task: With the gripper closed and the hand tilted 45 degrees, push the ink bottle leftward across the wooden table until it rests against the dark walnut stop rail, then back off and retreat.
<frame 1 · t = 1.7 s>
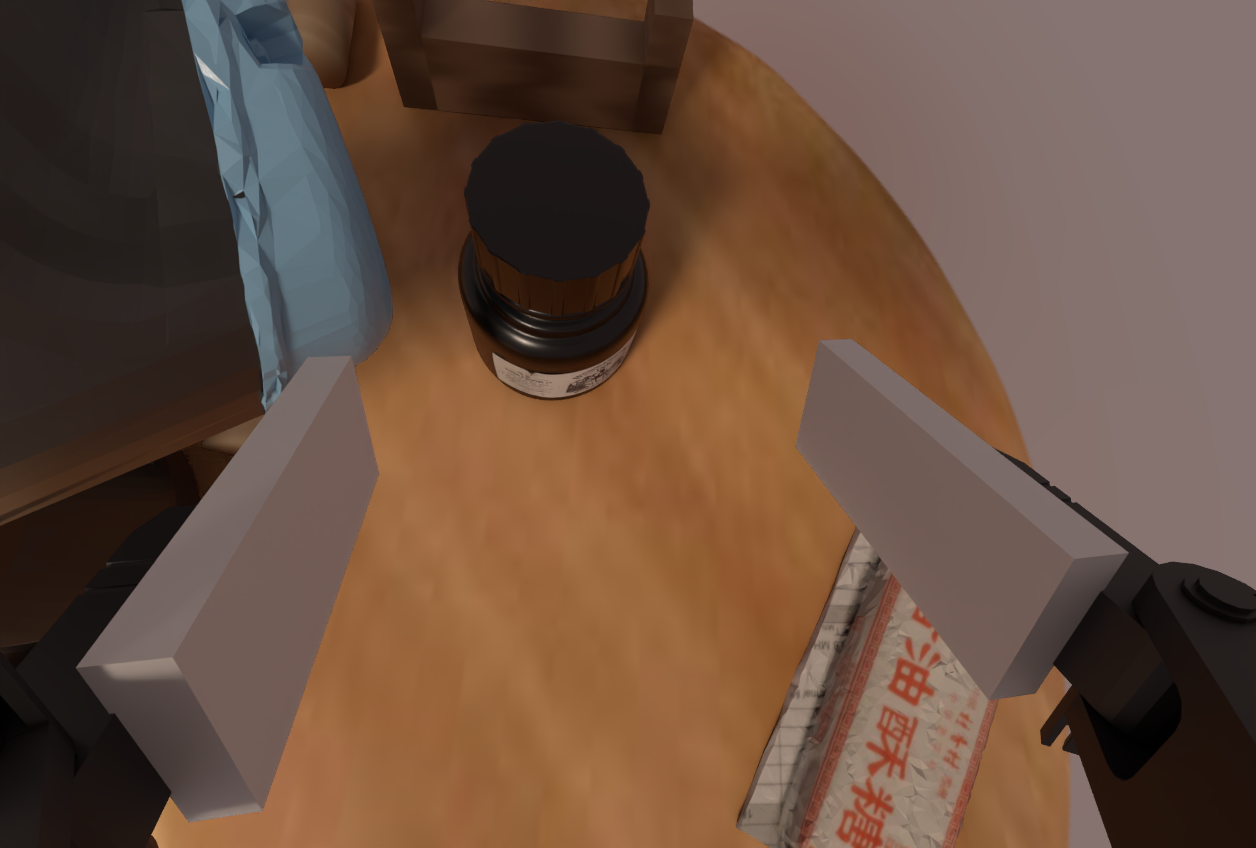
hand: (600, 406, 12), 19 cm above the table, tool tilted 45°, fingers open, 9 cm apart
packaged product: (877, 692, 31), on the table
roller b: (333, 42, 35), on the table, tilted 6°
roller a: (280, 391, 29), on the table, tilted 6°
stop rail: (537, 100, 36), on the table
ink bottle: (553, 330, 33), on the table
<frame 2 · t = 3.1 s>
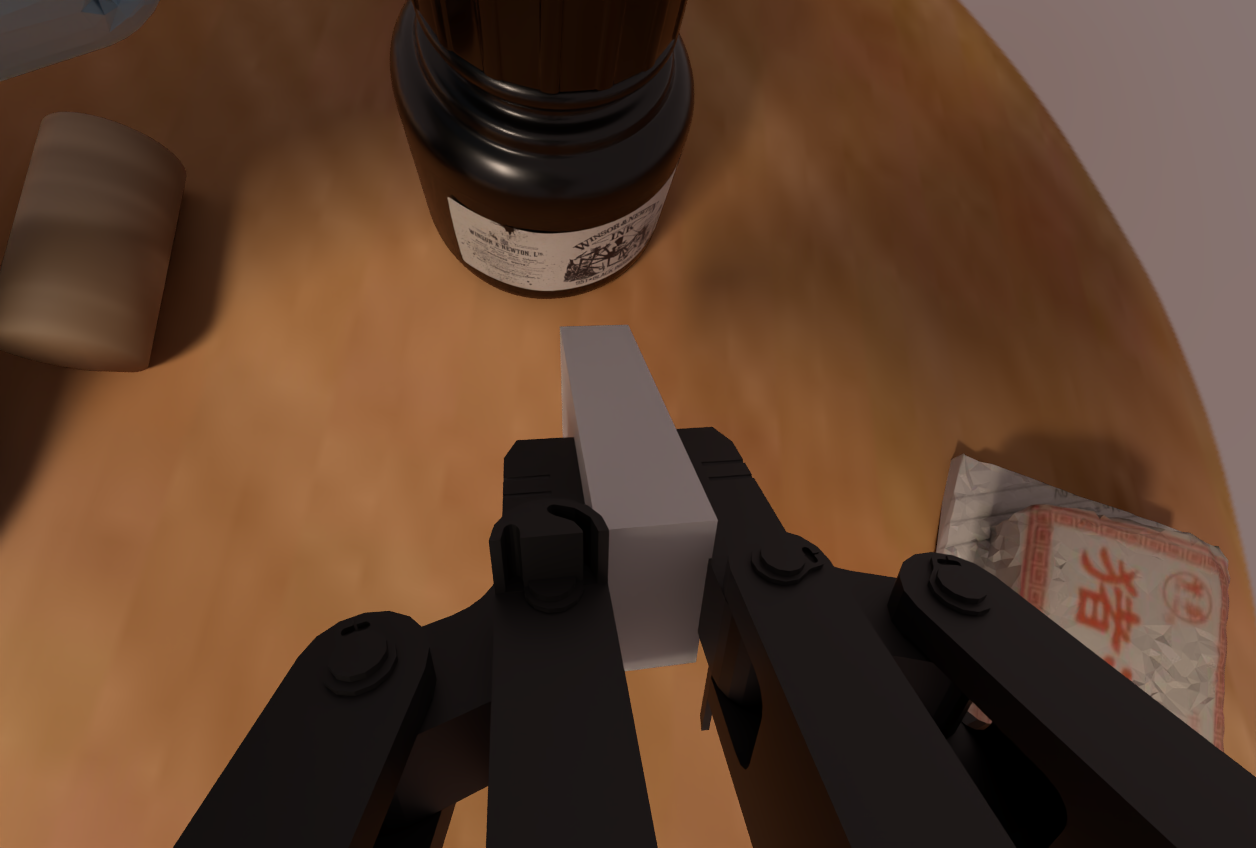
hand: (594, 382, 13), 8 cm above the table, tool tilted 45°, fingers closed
packaged product: (1015, 721, 21), on the table
roller a: (134, 276, 20), on the table
ink bottle: (545, 205, 23), on the table
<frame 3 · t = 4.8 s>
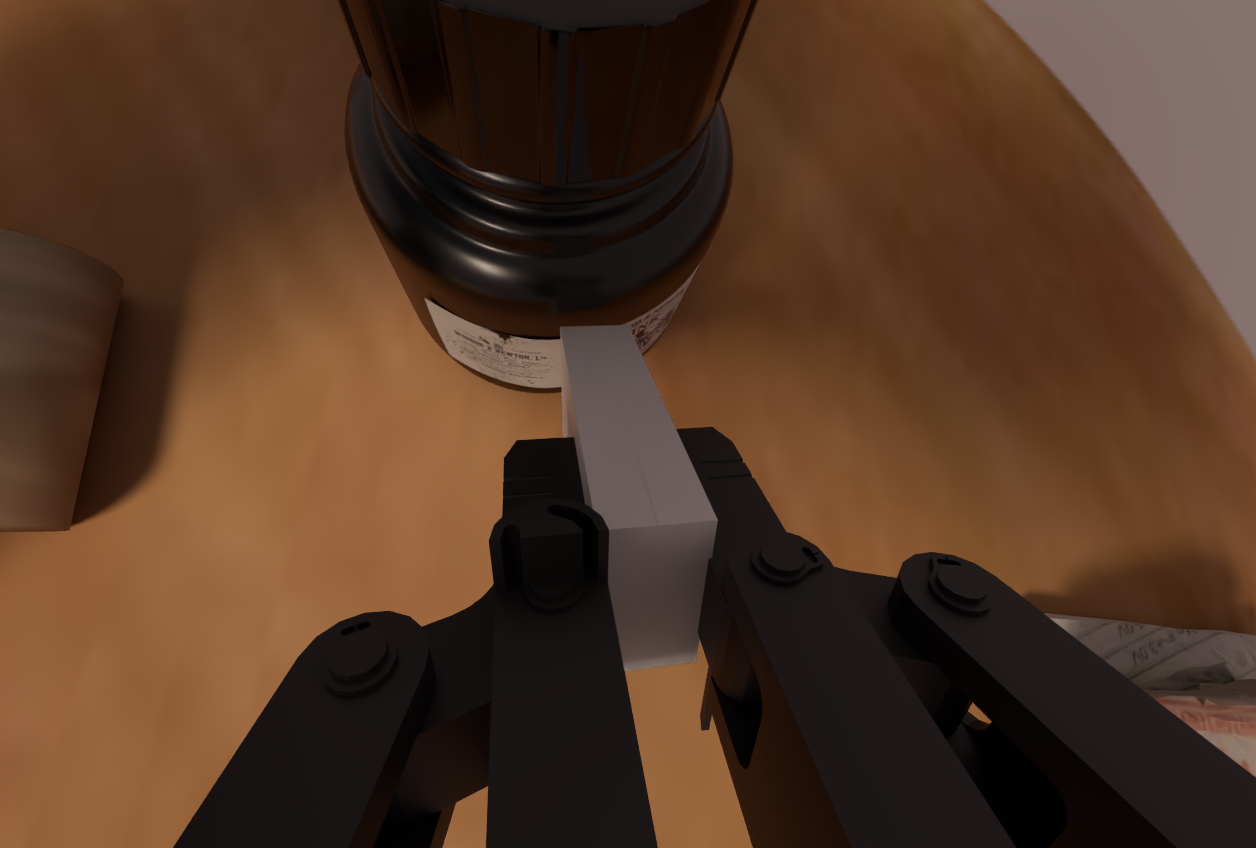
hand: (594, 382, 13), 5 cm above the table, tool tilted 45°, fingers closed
roller a: (42, 405, 16), on the table, tilted 13°
ink bottle: (546, 275, 19), on the table, touching gripper
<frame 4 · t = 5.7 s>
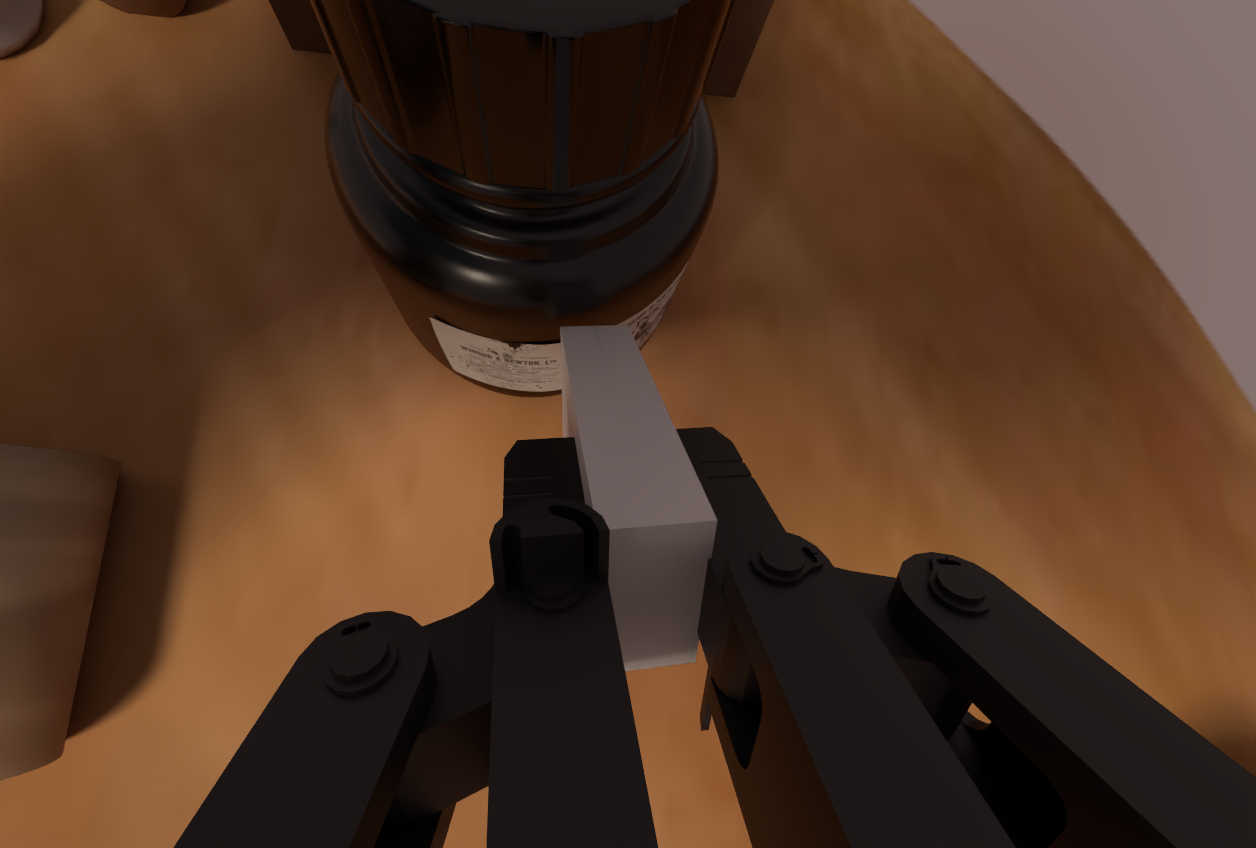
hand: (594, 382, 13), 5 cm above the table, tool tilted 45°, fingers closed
roller a: (9, 601, 15), on the table, tilted 27°
stop rail: (526, 41, 21), on the table
ink bottle: (535, 277, 19), on the table, touching gripper
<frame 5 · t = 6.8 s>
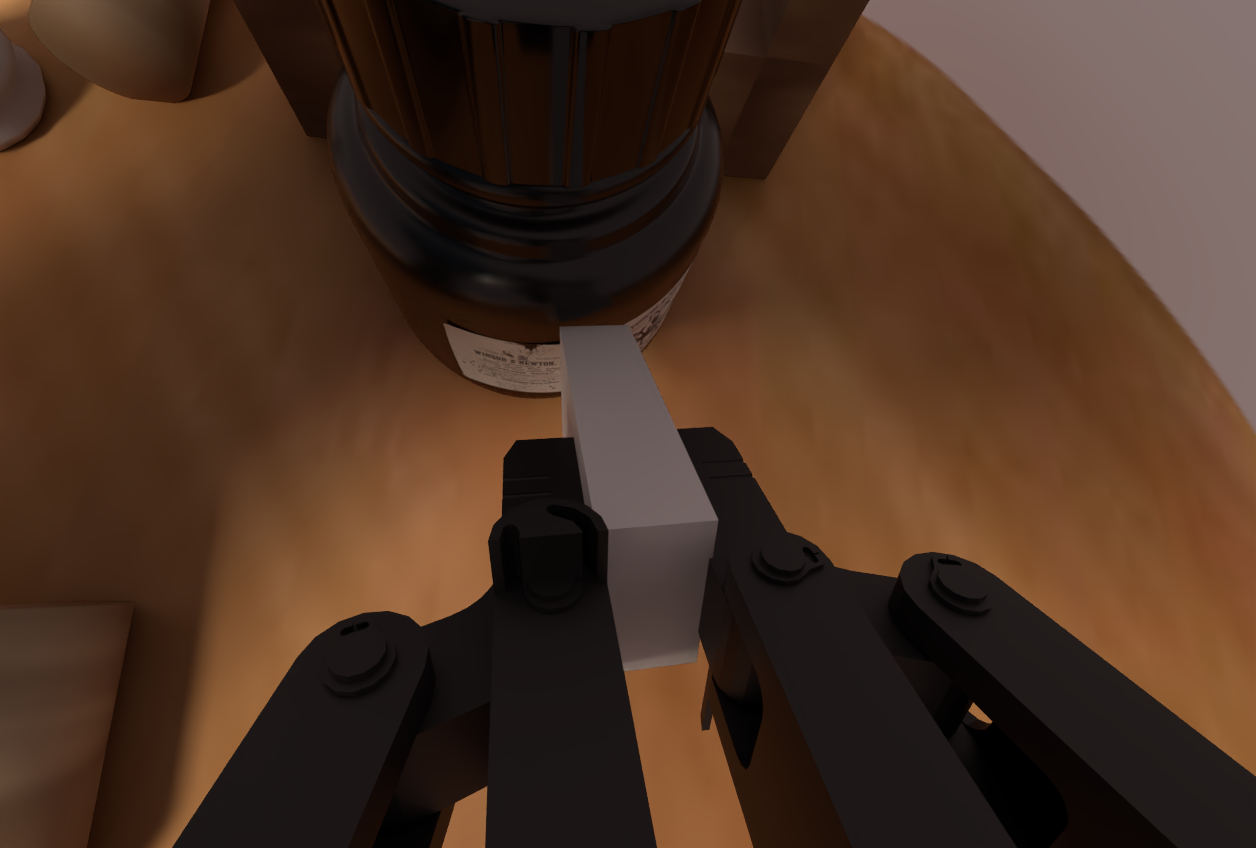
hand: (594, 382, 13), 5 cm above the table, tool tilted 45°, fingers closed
roller b: (181, 18, 19), on the table, tilted 6°
roller a: (1, 755, 14), on the table, tilted 35°
stop rail: (550, 122, 20), on the table
ink bottle: (537, 278, 19), on the table, touching gripper
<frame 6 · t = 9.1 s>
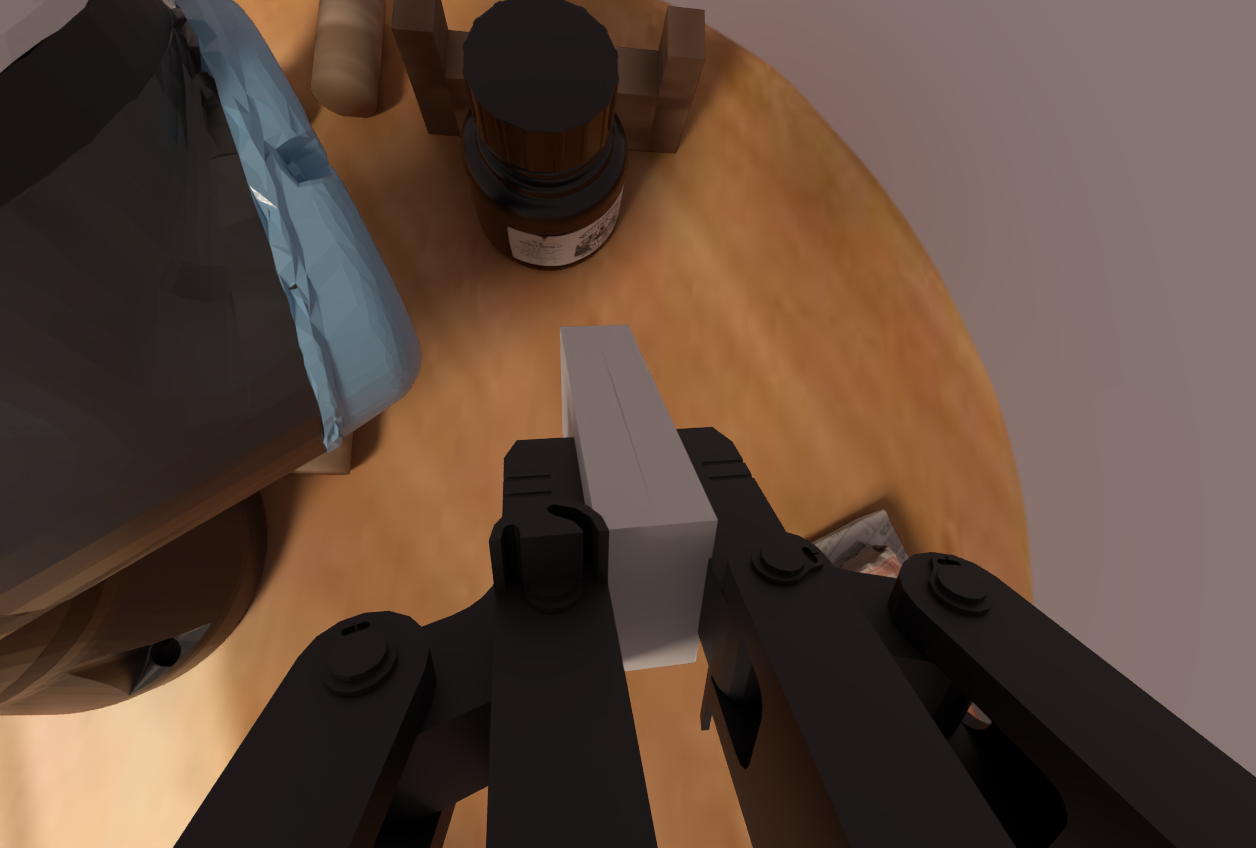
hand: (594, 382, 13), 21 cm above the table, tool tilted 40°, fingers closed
packaged product: (869, 676, 35), on the table
roller b: (359, 69, 36), on the table
roller a: (328, 414, 33), on the table, tilted 6°
stop rail: (555, 123, 37), on the table
ink bottle: (548, 210, 36), on the table
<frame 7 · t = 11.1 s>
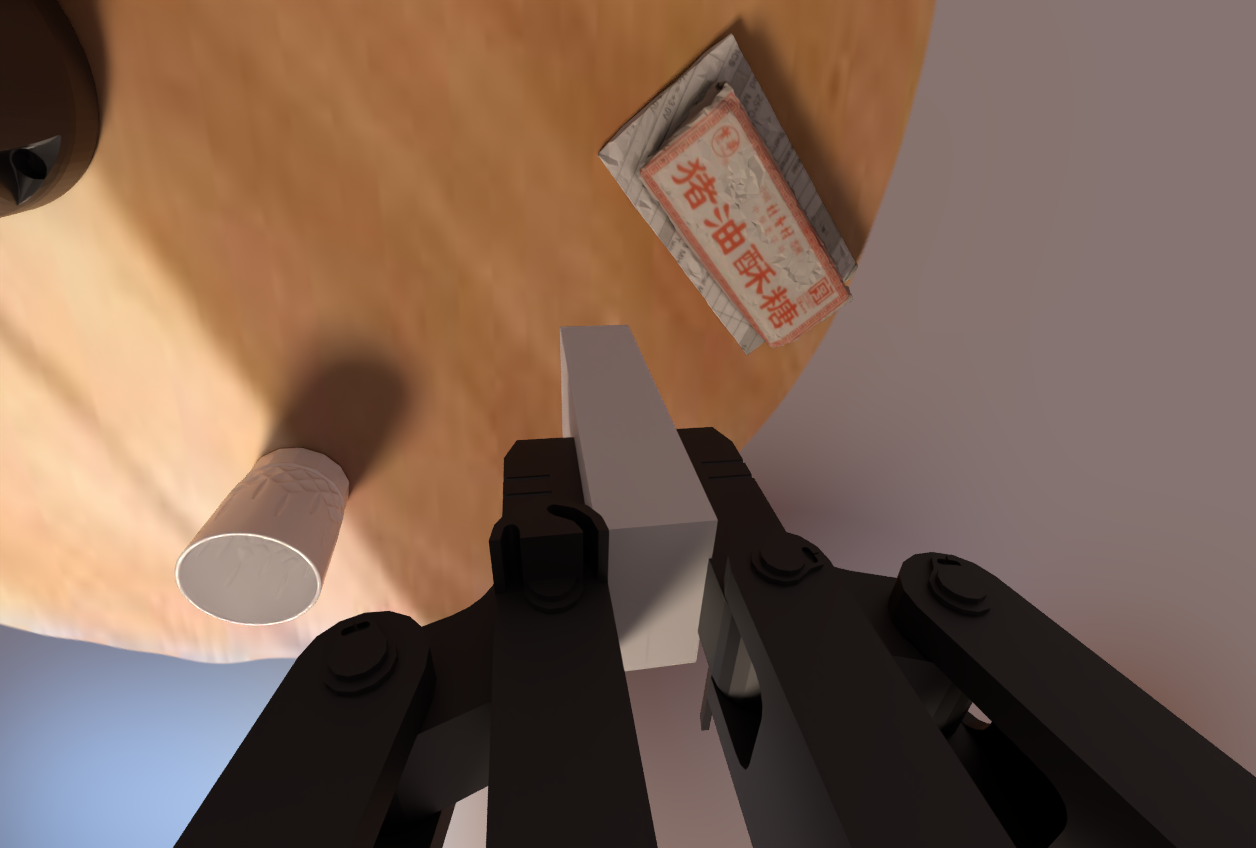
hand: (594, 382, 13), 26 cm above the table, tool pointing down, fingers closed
white cup: (303, 481, 43), on the table
packaged product: (732, 213, 39), on the table
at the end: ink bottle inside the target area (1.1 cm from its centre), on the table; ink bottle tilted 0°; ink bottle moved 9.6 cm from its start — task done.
